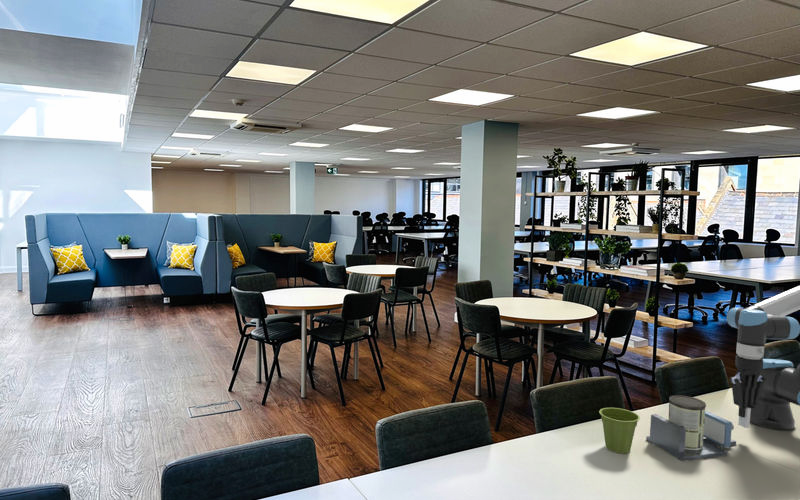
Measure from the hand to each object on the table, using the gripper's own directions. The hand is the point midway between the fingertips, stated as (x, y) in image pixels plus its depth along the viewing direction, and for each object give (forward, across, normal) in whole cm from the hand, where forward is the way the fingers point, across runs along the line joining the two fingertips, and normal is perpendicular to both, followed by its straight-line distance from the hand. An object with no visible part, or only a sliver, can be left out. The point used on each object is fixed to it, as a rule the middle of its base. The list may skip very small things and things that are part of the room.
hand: (743, 426), depth 169 cm
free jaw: (+4, -10, 0) cm, 10 cm away
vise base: (+5, -19, 0) cm, 19 cm away
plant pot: (+6, -46, +4) cm, 47 cm away
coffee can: (+4, -24, 0) cm, 24 cm away
